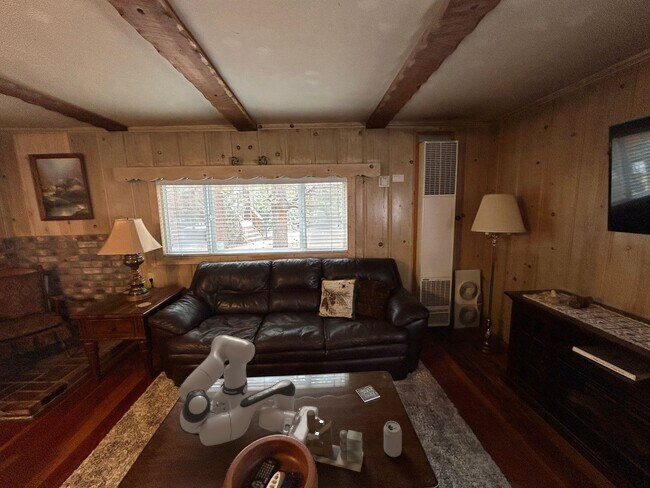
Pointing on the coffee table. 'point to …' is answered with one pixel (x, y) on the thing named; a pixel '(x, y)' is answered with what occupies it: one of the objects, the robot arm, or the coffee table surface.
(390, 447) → the can
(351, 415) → the coffee table surface
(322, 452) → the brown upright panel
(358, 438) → the hinge jig
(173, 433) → the coffee table surface
